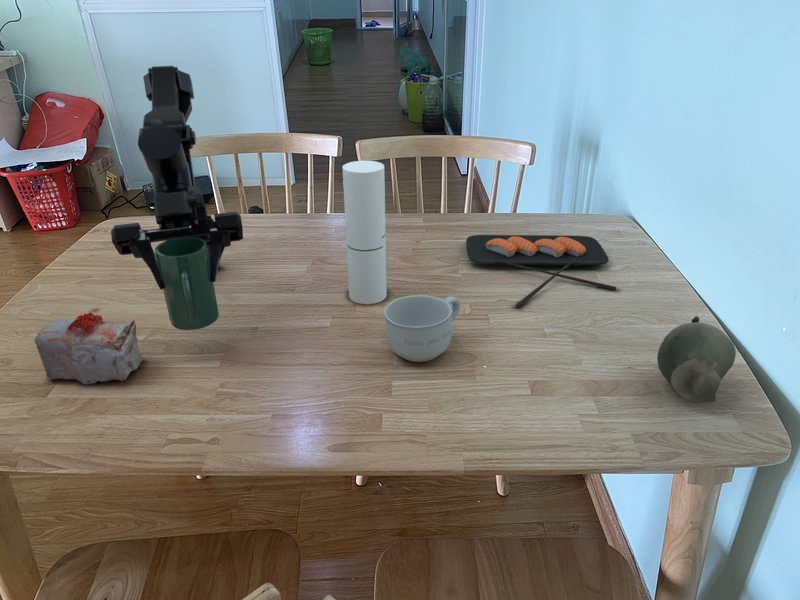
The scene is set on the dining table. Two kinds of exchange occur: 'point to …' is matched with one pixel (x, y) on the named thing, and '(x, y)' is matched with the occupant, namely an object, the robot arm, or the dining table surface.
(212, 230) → the robot arm
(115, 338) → the food item
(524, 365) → the dining table surface
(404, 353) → the teacup
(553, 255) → the sushi plate
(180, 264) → the mug
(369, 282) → the cylindrical container
